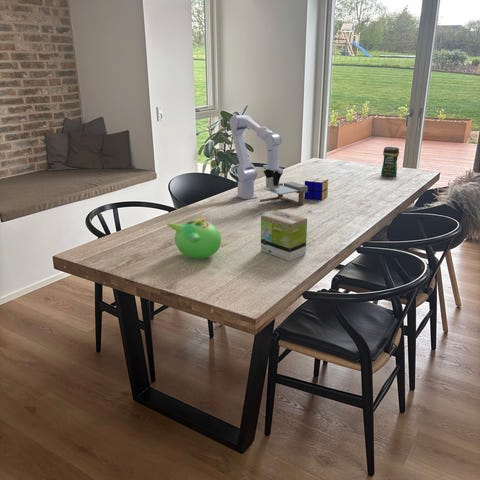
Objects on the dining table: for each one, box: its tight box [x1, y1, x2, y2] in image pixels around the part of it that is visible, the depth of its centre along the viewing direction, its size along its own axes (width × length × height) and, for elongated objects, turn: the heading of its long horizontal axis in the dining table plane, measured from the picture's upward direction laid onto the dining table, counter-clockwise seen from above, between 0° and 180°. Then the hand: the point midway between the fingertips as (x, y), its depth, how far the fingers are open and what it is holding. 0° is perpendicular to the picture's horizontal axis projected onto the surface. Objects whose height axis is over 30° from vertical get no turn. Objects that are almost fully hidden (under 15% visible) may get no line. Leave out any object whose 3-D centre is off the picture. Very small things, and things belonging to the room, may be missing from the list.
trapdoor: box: [263, 181, 308, 195], centre depth 255 cm, size 16×18×3 cm
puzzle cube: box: [304, 177, 329, 202], centre depth 264 cm, size 10×10×10 cm
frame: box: [259, 182, 305, 210], centre depth 255 cm, size 19×14×8 cm
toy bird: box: [166, 217, 222, 260], centre depth 182 cm, size 18×17×15 cm
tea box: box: [260, 210, 308, 262], centre depth 184 cm, size 15×10×15 cm, turn 45°
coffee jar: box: [380, 146, 400, 178], centre depth 314 cm, size 10×8×19 cm
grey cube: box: [265, 177, 280, 189], centre depth 251 cm, size 5×5×5 cm
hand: (272, 184), depth 252 cm, fingers closed on grey cube, 5 cm apart
